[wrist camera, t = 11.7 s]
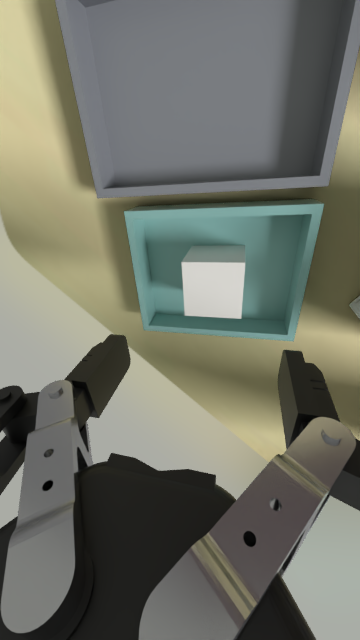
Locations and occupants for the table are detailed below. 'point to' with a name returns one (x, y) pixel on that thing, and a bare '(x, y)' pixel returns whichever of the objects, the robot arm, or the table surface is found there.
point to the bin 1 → (210, 91)
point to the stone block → (214, 281)
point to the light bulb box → (356, 306)
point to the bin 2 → (226, 229)
